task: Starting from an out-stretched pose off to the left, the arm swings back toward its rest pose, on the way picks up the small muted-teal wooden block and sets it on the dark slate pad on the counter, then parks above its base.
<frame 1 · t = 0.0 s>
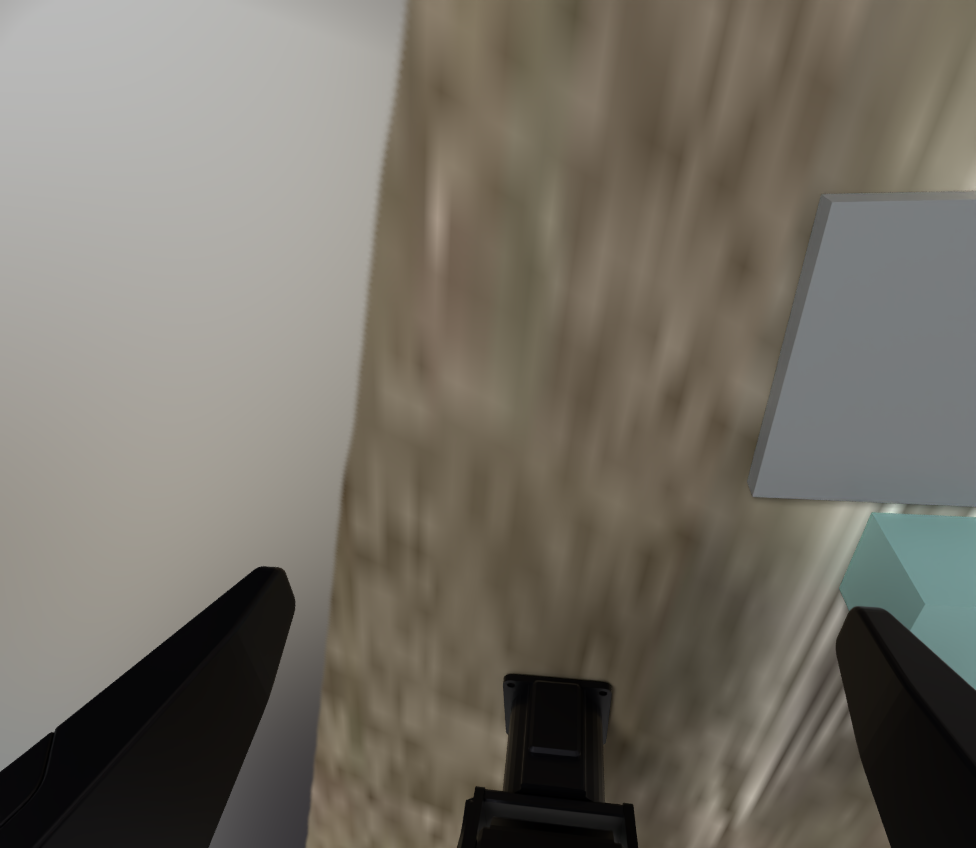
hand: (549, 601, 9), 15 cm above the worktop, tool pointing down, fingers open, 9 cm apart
pad: (952, 362, 21), on the worktop
block: (912, 554, 27), on the worktop
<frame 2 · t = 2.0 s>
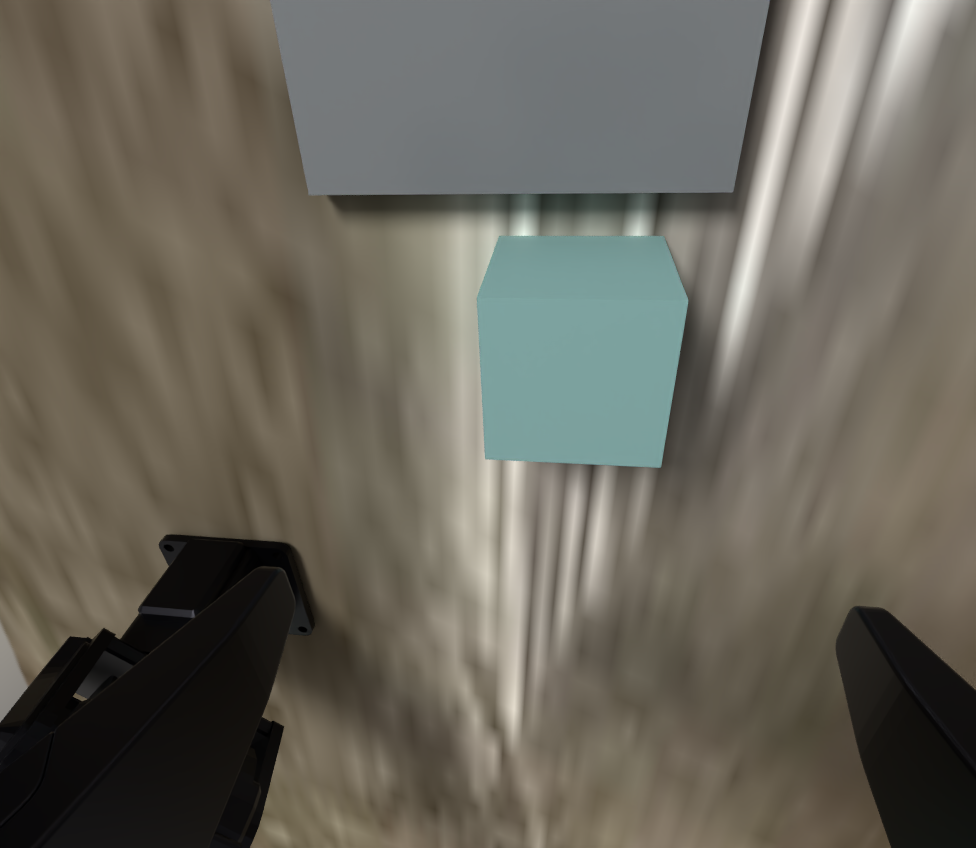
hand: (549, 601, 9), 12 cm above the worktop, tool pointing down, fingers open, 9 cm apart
block: (576, 310, 20), on the worktop
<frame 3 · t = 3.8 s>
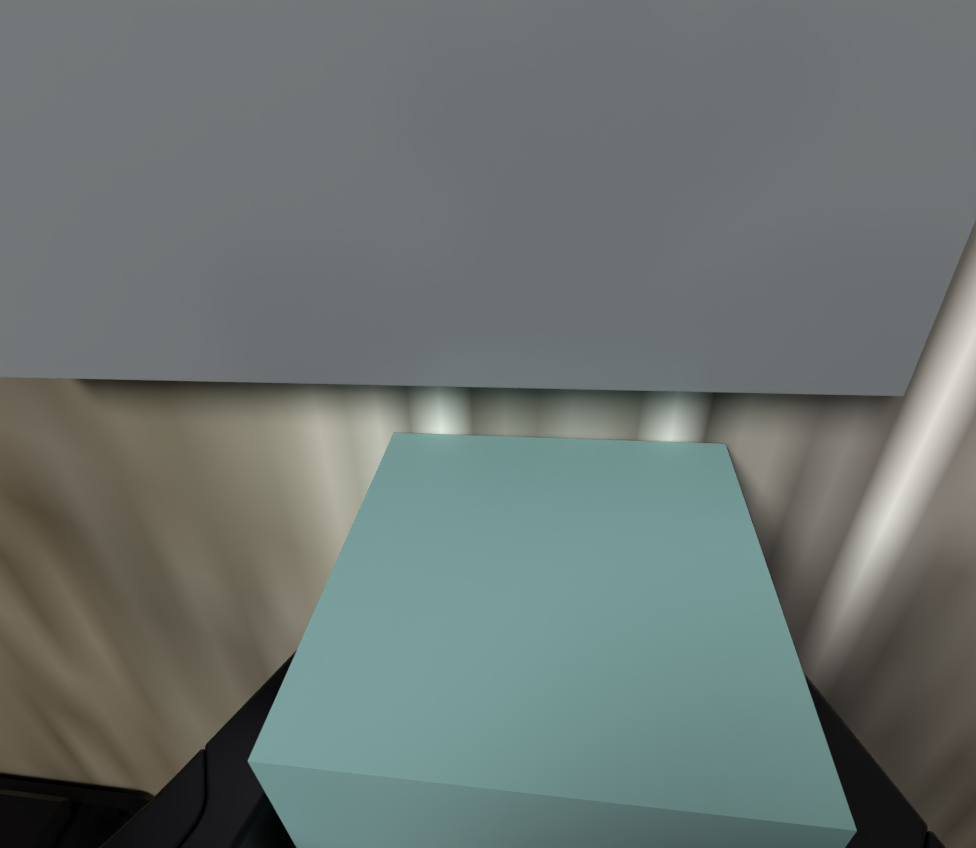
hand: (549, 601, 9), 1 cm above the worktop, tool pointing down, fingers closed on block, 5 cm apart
block: (551, 553, 10), on the worktop, touching gripper
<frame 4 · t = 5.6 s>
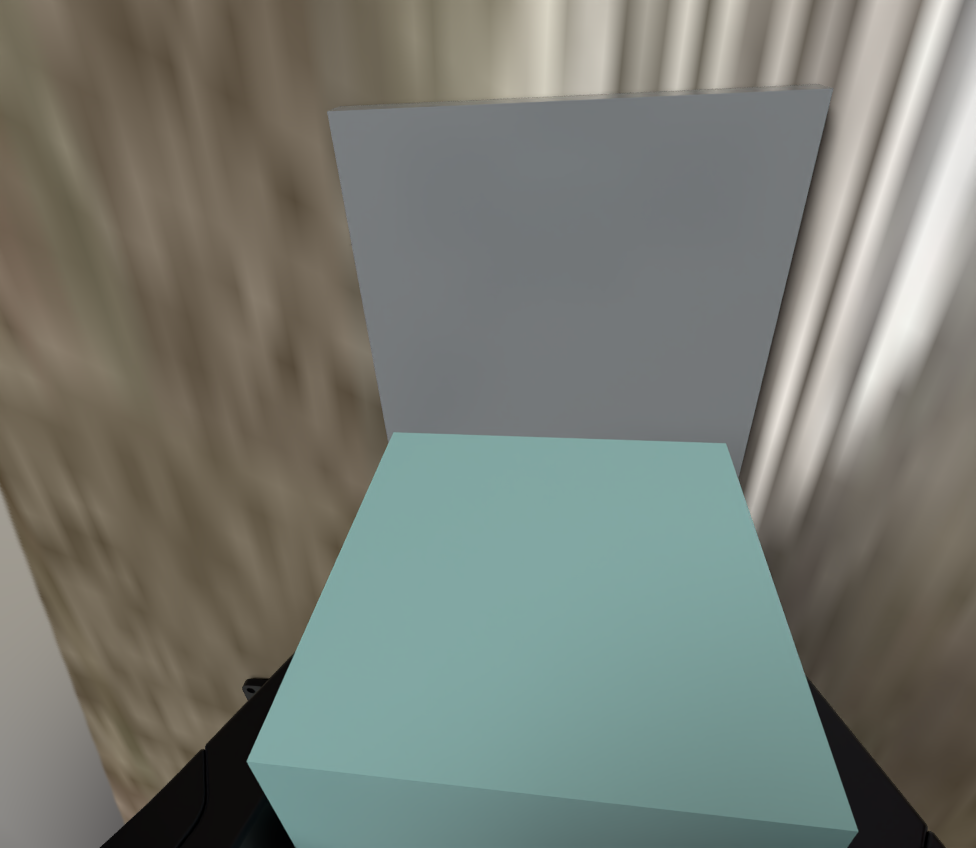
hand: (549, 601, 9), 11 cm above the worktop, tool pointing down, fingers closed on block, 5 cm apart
pad: (562, 315, 18), on the worktop
block: (551, 553, 10), point 10 cm above the worktop, touching gripper
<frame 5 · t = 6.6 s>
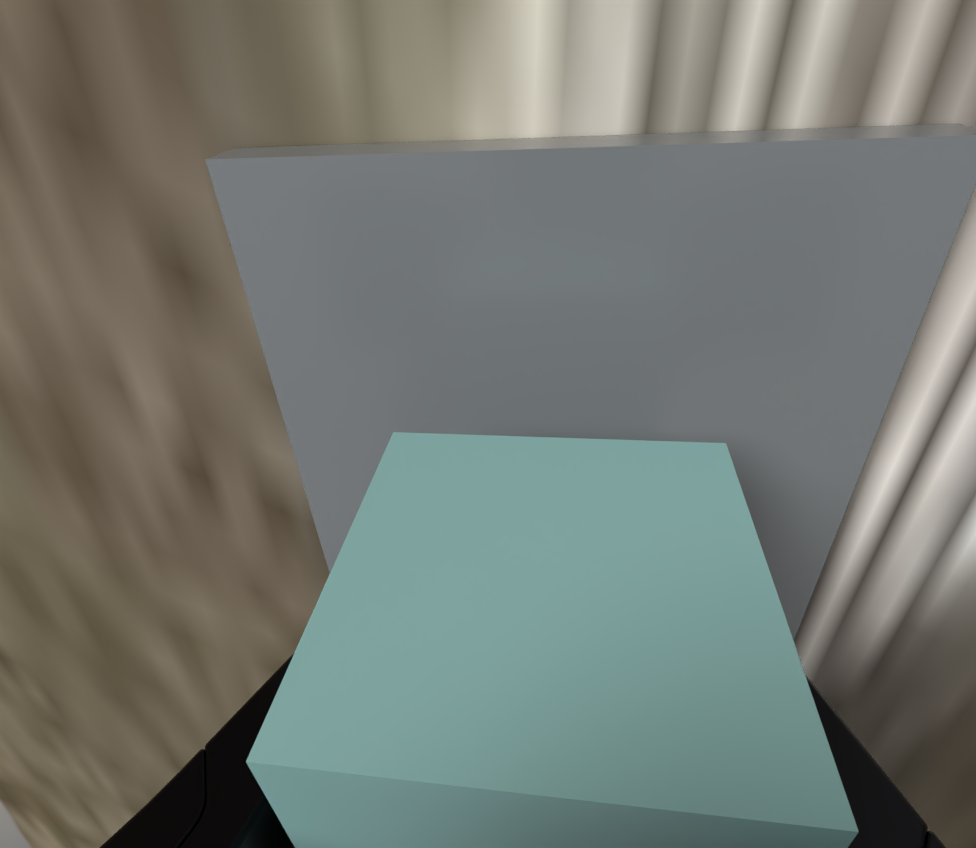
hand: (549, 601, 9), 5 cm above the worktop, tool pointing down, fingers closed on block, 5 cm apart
pad: (559, 428, 13), on the worktop
block: (551, 552, 10), point 4 cm above the worktop, touching gripper
when the fingers open (3 cm above the worktop, at t = 7.4 s): block stays where it is, resting on pad.
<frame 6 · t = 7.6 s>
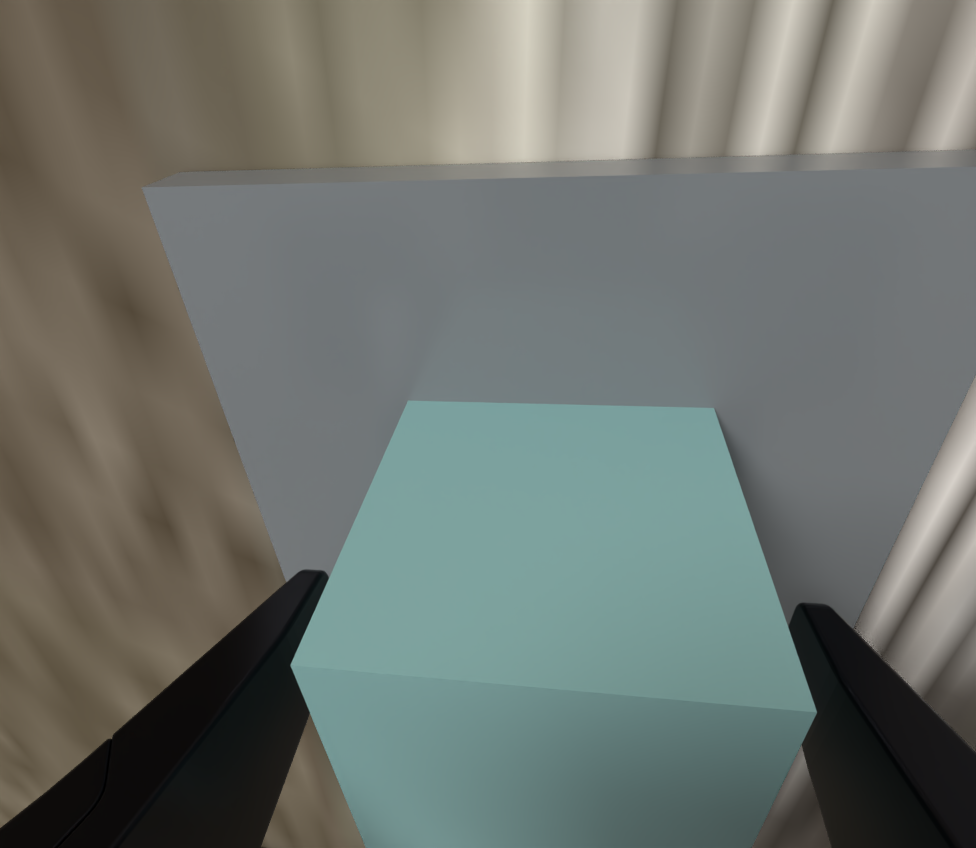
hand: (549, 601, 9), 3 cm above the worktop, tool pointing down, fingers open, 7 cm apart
pad: (556, 480, 12), on the worktop
block: (554, 515, 11), point 1 cm above the worktop, touching pad
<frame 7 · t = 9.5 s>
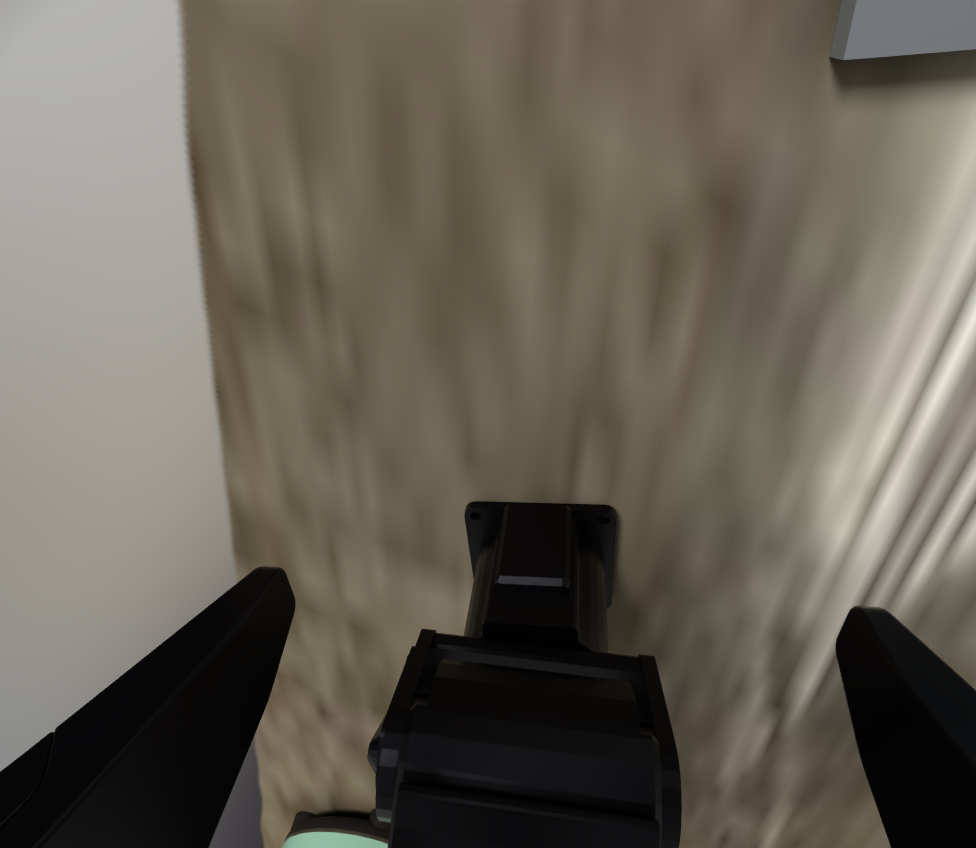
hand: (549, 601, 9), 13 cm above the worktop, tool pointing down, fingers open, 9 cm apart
juicer: (371, 835, 51), on the worktop
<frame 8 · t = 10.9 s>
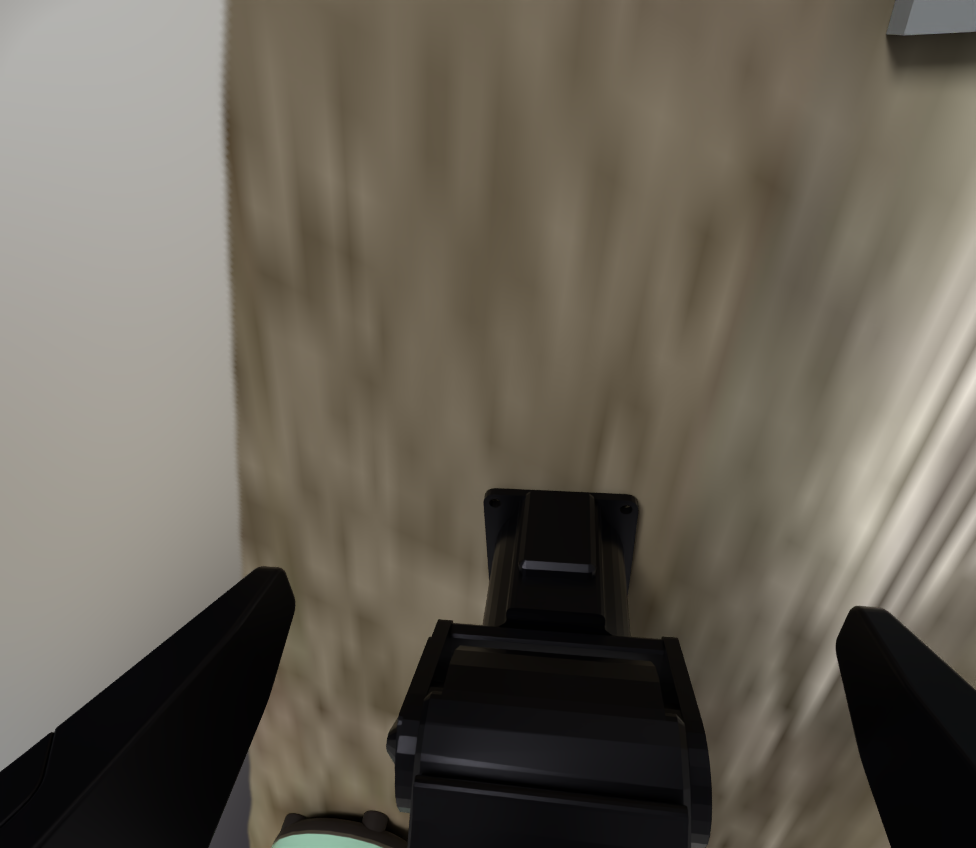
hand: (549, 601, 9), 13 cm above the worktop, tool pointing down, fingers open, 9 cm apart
juicer: (362, 839, 50), on the worktop
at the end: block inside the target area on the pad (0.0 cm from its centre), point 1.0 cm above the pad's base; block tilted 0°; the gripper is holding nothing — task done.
